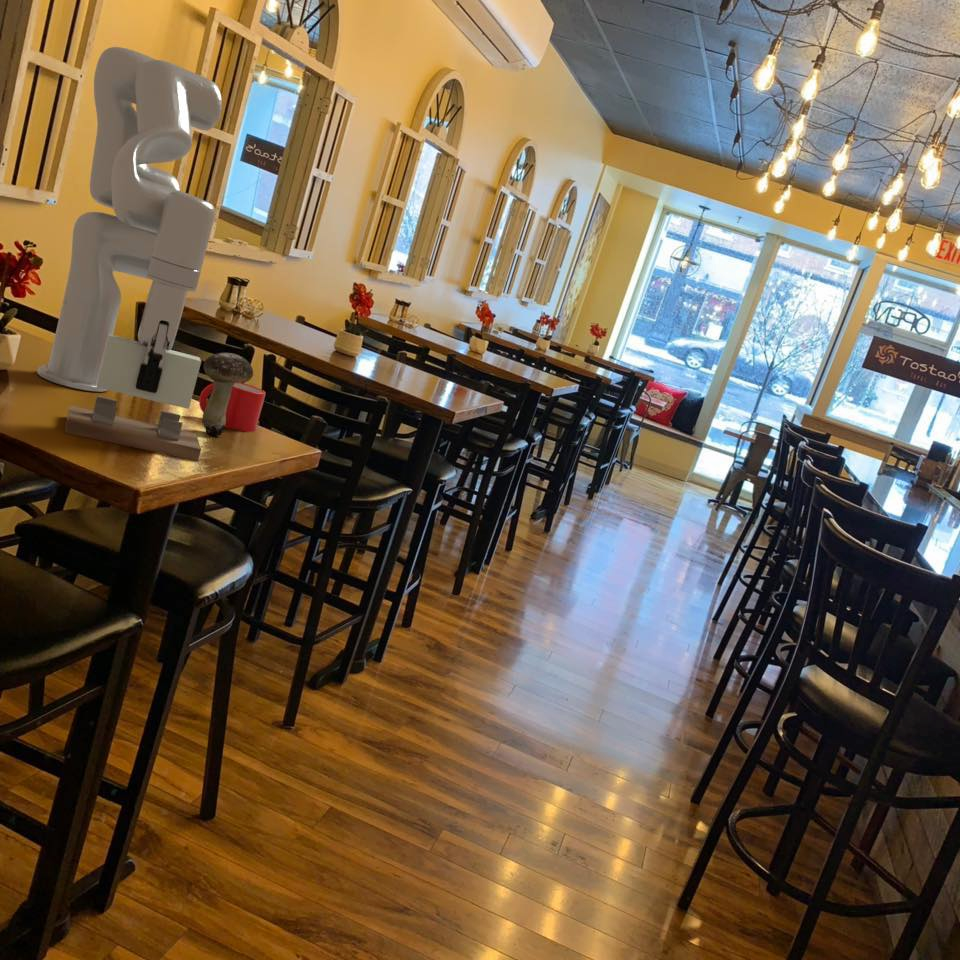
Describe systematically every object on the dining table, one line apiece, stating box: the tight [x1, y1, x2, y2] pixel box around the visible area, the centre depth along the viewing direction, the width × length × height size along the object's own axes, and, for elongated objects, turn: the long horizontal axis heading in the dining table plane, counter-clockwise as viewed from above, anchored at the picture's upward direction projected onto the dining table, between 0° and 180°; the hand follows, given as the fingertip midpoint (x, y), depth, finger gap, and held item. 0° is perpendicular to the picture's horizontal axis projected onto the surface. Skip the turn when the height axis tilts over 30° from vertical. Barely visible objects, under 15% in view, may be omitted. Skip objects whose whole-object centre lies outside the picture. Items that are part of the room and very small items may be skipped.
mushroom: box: [202, 352, 254, 436], centre depth 168 cm, size 9×9×15 cm
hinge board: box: [64, 395, 202, 462], centre depth 149 cm, size 10×20×5 cm, turn 111°
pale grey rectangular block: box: [97, 334, 202, 410], centre depth 148 cm, size 4×14×8 cm, turn 111°
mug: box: [198, 382, 266, 433], centre depth 182 cm, size 8×12×8 cm, turn 119°
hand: (145, 386), depth 148 cm, fingers closed on pale grey rectangular block, 3 cm apart
